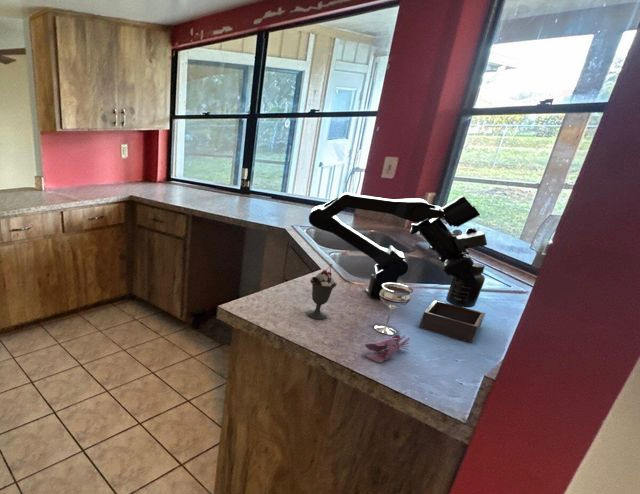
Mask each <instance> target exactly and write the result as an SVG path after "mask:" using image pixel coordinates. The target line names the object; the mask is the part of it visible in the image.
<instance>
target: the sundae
mask: <svg viewBox="0 0 640 494" xmlns="http://www.w3.org/2000/svg"><path fill="white" fill-rule="evenodd" d="M332 266H333V264H332V263H330V264H329V266H328V268H329V271H327V270H328V268H326V269H323V270H322V271H320V272H319V273H317V274H316V276H312V277H311V279H310V280H309V282H310V284H311V285H312V286H311V287H312V288H311V298H312V302H313V303H315V304H316V306H315V309H314V310H309V311H308V312H307V313H306V314H307V316H308V317H310V318H311V319H315V320H325V319H326V318H327V315H326V314H325V313H324V312H321V307H322V305H325V304H326V303H328V301H329V299H330V297H331V294H332V292H333V289H334V288H336V287H337V285H338V283H337V282H335V279H334V278H333V276H332V275H333V273H332V272H331V271H332Z"/></svg>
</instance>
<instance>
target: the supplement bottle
mask: <svg viewBox="0 0 640 494" xmlns="http://www.w3.org/2000/svg"><path fill="white" fill-rule="evenodd" d="M473 262H474V264H473V265H472V267H471V271H472V273H473V275H474V277H475V279H476V281H477V283H478V285H477V286H472V285H470V284H468V283H466V282H464V281H462V280H460V279H458V278H456V277H454V276H452V280H451V283H450V285H449V287H448V292H447V294H446V298H445V300H446V303H448V304H452V305H456V306H460V307H464V308H467V309H471V308H474V307H475V306H476V304H477V301H478V299H479V297H480V294H481V291H482V289H483V287H484V283H485V281H486V280H485V279H486V278H485V276H484V275H483V273H484V270H485V267H486V265H485V264H482V263H479V262H476V261H473Z"/></svg>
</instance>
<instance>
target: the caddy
mask: <svg viewBox="0 0 640 494" xmlns="http://www.w3.org/2000/svg"><path fill="white" fill-rule="evenodd" d="M485 315H486V312H482V311H479V310H475V309H471V308H466V307H460V306H456V305H453V304H450V303H449V302H443V301H440V300H435V299H434V300H433V301H432V302H431V303H430V305H429V306H428V307H426V309H425V311H424V312H423V314H422V318H421V320H420V323H419V328H420V329H423V330H427V331H431V332H434V333H436V334H441V335H443V336H447V337H450V338H454V339H457V340H459V341H462V342H463V341H464V342H467V343H469V344H472V343H473V341H474V339H475V337H476V336H477V334H478V332H479V330H480V328H481V325H482V323H483V321H484V319H485Z"/></svg>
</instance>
